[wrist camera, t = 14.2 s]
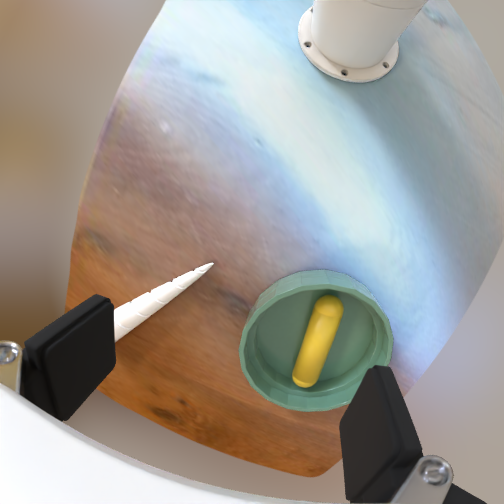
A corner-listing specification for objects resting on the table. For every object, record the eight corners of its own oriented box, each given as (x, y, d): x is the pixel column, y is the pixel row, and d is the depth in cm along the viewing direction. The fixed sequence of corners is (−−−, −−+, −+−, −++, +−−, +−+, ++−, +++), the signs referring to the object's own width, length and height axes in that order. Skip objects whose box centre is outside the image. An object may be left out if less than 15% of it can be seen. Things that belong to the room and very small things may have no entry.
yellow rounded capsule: (316, 287, 35) (320, 299, 32) (344, 293, 35) (350, 305, 32) (288, 374, 39) (289, 390, 35) (313, 378, 39) (315, 394, 35)
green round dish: (262, 253, 36) (256, 266, 30) (400, 285, 34) (415, 302, 29) (236, 371, 40) (228, 395, 35) (353, 394, 39) (358, 418, 34)
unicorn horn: (229, 287, 37) (220, 302, 33) (109, 343, 43) (94, 357, 38) (211, 255, 37) (199, 266, 32) (94, 318, 42) (77, 331, 38)
